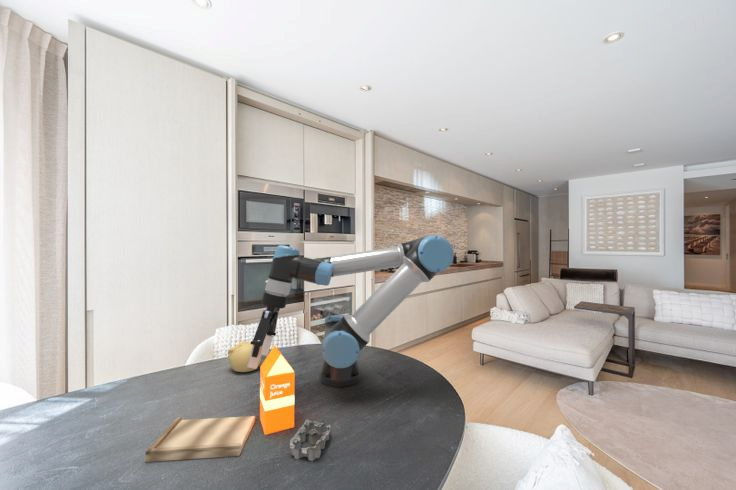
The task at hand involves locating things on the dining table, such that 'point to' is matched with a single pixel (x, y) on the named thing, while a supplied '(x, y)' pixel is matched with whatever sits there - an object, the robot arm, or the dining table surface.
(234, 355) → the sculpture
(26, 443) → the dining table surface
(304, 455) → the egg carton
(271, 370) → the orange juice
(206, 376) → the dining table surface
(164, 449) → the serving board
